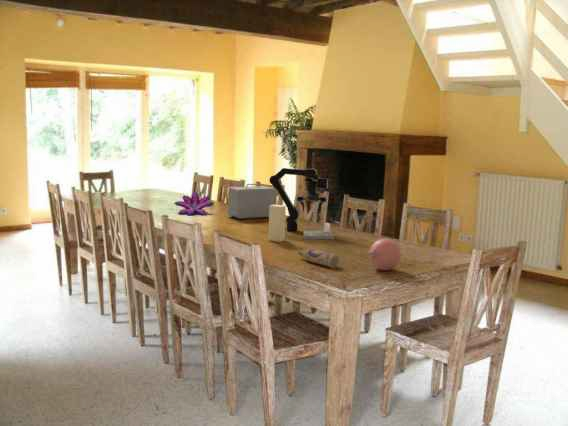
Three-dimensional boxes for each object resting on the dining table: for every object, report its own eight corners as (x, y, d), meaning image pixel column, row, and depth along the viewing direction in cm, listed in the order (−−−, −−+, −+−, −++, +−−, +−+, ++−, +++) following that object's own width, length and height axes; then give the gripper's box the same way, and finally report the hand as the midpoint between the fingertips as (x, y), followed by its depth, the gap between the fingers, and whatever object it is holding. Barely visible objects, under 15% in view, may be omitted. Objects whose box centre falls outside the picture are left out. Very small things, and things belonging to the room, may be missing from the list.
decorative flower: (213, 222, 436) (212, 211, 430) (172, 224, 436) (170, 213, 431) (217, 200, 461) (215, 189, 456) (178, 202, 462) (176, 191, 456)
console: (304, 238, 359) (304, 233, 359) (303, 233, 375) (303, 229, 375) (333, 239, 360) (333, 234, 359) (331, 234, 375) (331, 230, 375)
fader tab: (324, 234, 365) (324, 224, 364) (323, 232, 370) (323, 223, 369) (330, 234, 365) (330, 224, 364) (329, 232, 370) (330, 223, 369)
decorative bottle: (339, 267, 291) (340, 253, 290) (329, 269, 286) (329, 255, 285) (304, 257, 310) (305, 244, 309) (294, 258, 305) (294, 246, 304)
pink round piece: (354, 269, 287) (356, 238, 284) (384, 264, 298) (386, 235, 295) (376, 276, 274) (378, 244, 272) (406, 271, 285) (408, 240, 283)
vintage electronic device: (264, 214, 450) (265, 181, 446) (276, 217, 435) (277, 184, 431) (226, 216, 434) (227, 182, 430) (237, 220, 419) (238, 185, 415)
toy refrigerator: (285, 239, 354) (286, 205, 350) (280, 242, 347) (281, 206, 344) (273, 238, 357) (274, 204, 354) (268, 240, 350) (268, 205, 347)
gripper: (297, 189, 371) (297, 213, 373) (327, 189, 371) (326, 214, 373) (297, 187, 382) (296, 210, 384) (325, 188, 382) (324, 211, 384)
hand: (310, 212), depth 381 cm, fingers open, 9 cm apart
